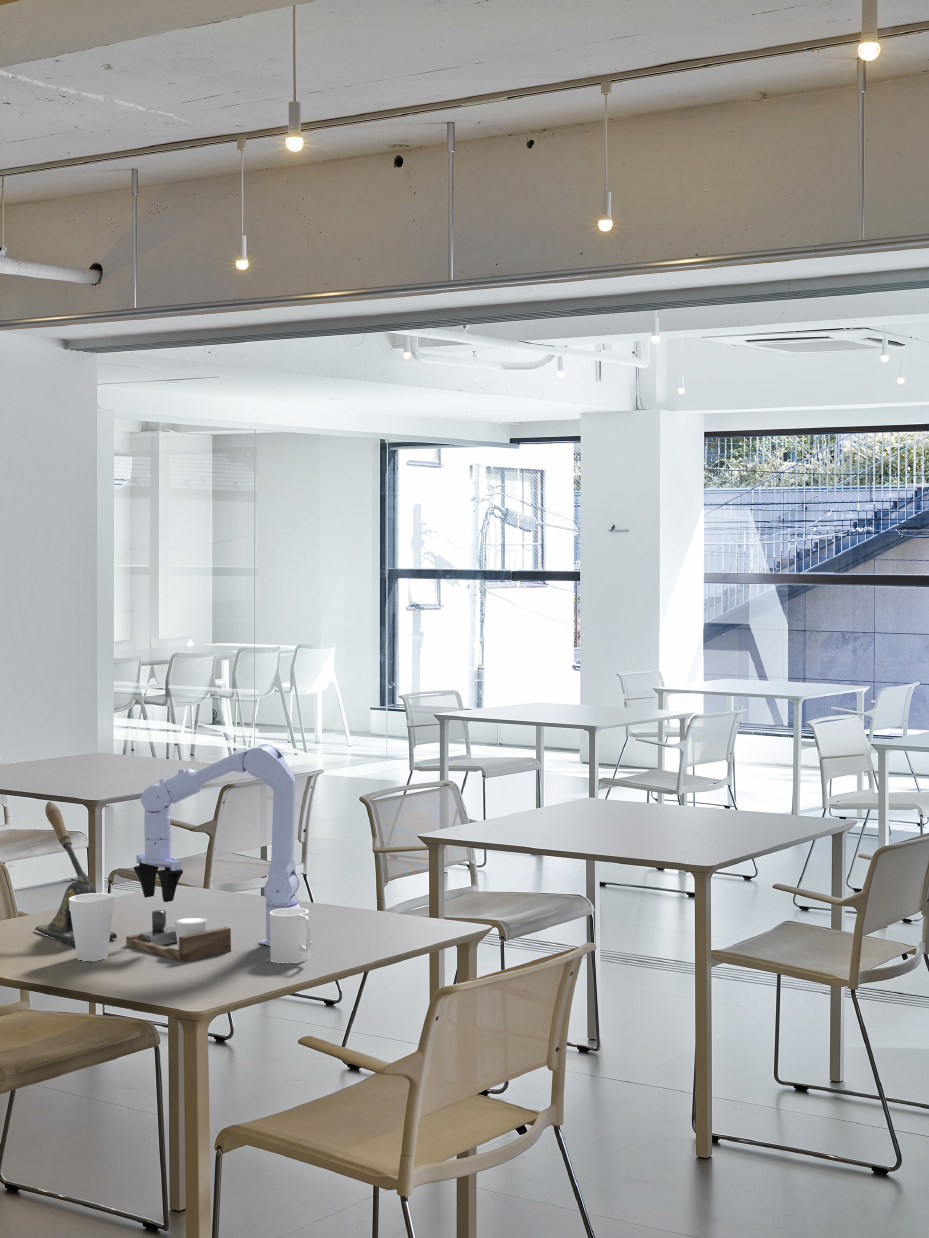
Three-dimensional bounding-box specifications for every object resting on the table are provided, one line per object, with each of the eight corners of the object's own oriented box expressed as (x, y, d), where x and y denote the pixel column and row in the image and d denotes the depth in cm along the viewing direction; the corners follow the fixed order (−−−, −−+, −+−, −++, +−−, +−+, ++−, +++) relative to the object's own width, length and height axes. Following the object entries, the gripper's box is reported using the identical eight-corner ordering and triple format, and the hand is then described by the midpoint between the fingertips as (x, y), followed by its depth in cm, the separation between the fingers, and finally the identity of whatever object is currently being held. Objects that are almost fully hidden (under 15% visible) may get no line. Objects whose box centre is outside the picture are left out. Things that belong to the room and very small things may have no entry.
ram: (182, 940, 314) (181, 910, 314) (150, 947, 309) (150, 916, 309) (170, 937, 318) (170, 907, 317) (139, 944, 312) (139, 913, 312)
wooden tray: (230, 950, 305) (230, 928, 305) (183, 961, 296) (183, 938, 296) (172, 935, 320) (172, 913, 320) (126, 945, 312) (125, 923, 312)
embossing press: (72, 949, 310) (69, 813, 310) (31, 931, 328) (29, 802, 328) (118, 941, 317) (116, 808, 316) (76, 923, 335) (74, 798, 335)
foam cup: (74, 965, 295) (73, 903, 295) (65, 956, 303) (64, 895, 303) (119, 959, 299) (118, 898, 299) (109, 950, 307) (108, 891, 307)
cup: (293, 969, 289) (292, 920, 289) (263, 958, 298) (262, 911, 298) (326, 962, 294) (326, 914, 294) (295, 952, 303) (295, 905, 303)
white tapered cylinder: (200, 956, 301) (199, 923, 301) (170, 955, 302) (169, 922, 302) (212, 948, 308) (211, 916, 308) (182, 947, 309) (182, 915, 309)
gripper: (124, 837, 315) (125, 897, 316) (160, 843, 305) (161, 906, 305) (151, 833, 321) (152, 892, 321) (188, 839, 310) (188, 901, 311)
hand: (158, 898), depth 313 cm, fingers open, 7 cm apart
